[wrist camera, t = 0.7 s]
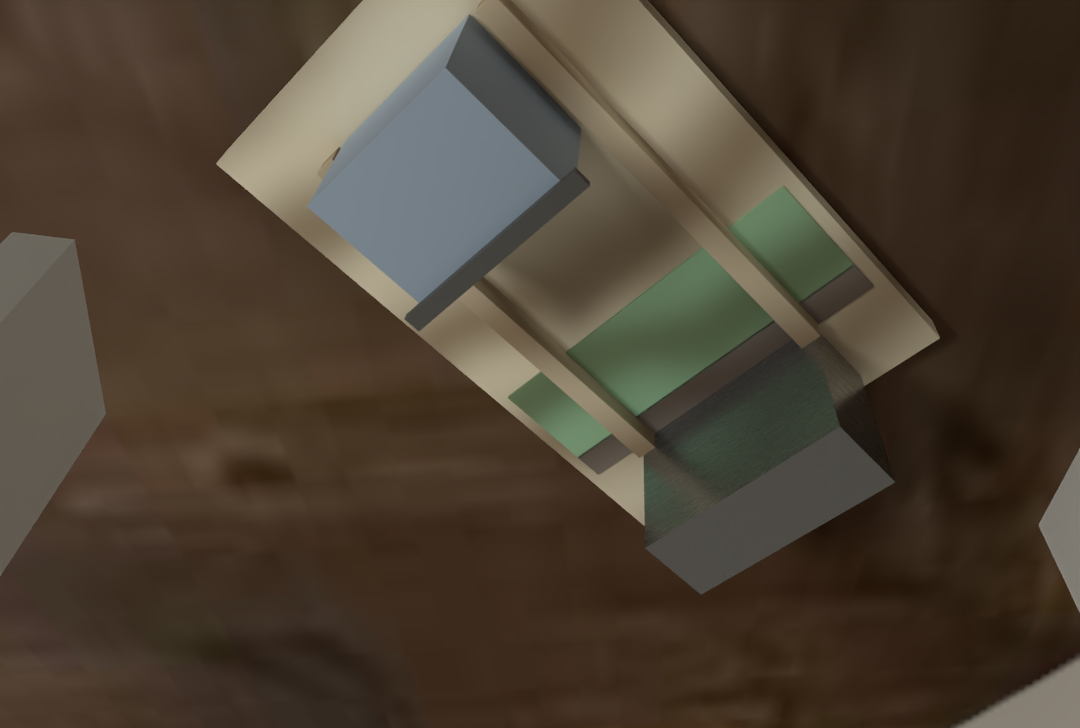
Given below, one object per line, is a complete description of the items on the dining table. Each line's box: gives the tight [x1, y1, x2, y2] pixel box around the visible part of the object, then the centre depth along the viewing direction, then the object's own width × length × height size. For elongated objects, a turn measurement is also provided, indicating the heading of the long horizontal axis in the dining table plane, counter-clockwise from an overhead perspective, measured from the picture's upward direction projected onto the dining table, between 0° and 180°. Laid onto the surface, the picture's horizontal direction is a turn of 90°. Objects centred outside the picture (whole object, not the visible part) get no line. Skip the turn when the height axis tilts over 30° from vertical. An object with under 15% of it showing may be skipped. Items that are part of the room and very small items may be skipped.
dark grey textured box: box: [643, 333, 895, 594], centre depth 37 cm, size 3×8×6 cm, turn 134°
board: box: [216, 0, 940, 526], centre depth 36 cm, size 22×14×2 cm, turn 44°
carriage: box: [307, 14, 590, 331], centre depth 32 cm, size 5×7×5 cm
